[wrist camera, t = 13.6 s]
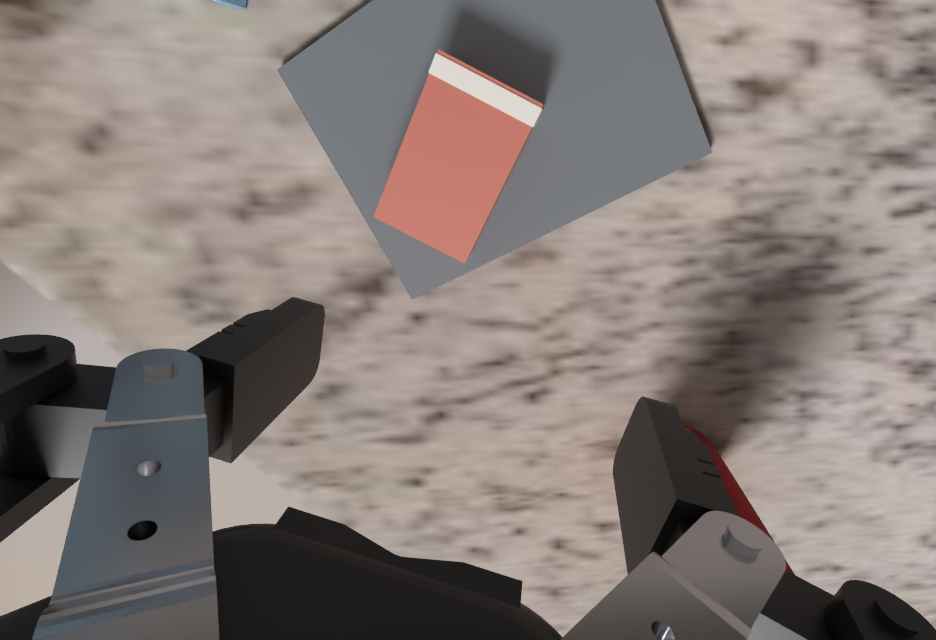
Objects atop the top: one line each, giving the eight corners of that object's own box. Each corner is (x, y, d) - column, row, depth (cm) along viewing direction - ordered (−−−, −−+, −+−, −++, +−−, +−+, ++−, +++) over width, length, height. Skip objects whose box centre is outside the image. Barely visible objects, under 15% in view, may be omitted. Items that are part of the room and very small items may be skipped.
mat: (594, -156, 24) (595, -162, 23) (709, 152, 28) (712, 152, 27) (282, 70, 30) (277, 69, 29) (414, 296, 34) (412, 299, 33)
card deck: (472, 252, 32) (544, 106, 28) (465, 264, 29) (544, 104, 25) (387, 208, 31) (448, 55, 28) (372, 216, 29) (437, 48, 25)
